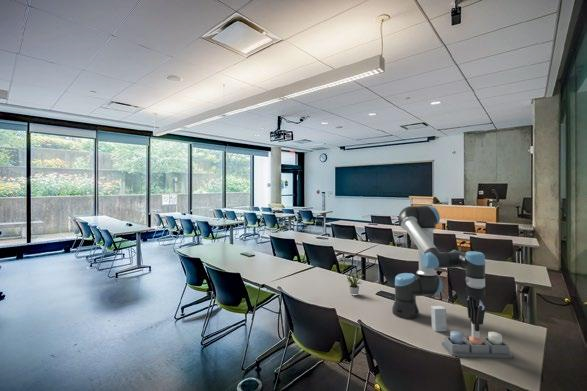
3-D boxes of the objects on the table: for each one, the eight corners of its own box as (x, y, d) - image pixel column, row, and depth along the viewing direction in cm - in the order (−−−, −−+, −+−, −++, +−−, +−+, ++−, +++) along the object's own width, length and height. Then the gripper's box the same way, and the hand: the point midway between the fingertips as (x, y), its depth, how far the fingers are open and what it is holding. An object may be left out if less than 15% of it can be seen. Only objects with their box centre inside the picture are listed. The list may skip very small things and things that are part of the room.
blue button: (448, 338, 134) (448, 330, 134) (459, 338, 134) (459, 331, 134) (453, 344, 129) (453, 336, 129) (465, 344, 129) (465, 336, 129)
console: (441, 344, 137) (441, 335, 137) (498, 345, 135) (498, 336, 135) (451, 356, 127) (451, 346, 127) (513, 357, 125) (513, 347, 125)
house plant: (364, 291, 211) (364, 269, 211) (367, 298, 197) (367, 274, 197) (345, 291, 212) (344, 269, 212) (346, 297, 199) (346, 274, 198)
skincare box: (442, 327, 154) (441, 305, 154) (446, 331, 149) (446, 308, 149) (431, 328, 154) (430, 305, 153) (435, 331, 149) (435, 309, 149)
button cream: (485, 339, 133) (485, 331, 133) (497, 339, 133) (497, 331, 133) (492, 344, 128) (492, 337, 128) (504, 345, 128) (504, 337, 128)
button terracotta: (466, 342, 134) (466, 335, 134) (478, 342, 133) (478, 335, 133) (473, 348, 129) (473, 341, 128) (485, 349, 128) (485, 341, 128)
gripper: (459, 281, 137) (459, 329, 138) (474, 290, 124) (475, 344, 125) (475, 281, 137) (475, 329, 137) (492, 290, 124) (492, 344, 124)
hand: (475, 336), depth 131 cm, fingers closed
